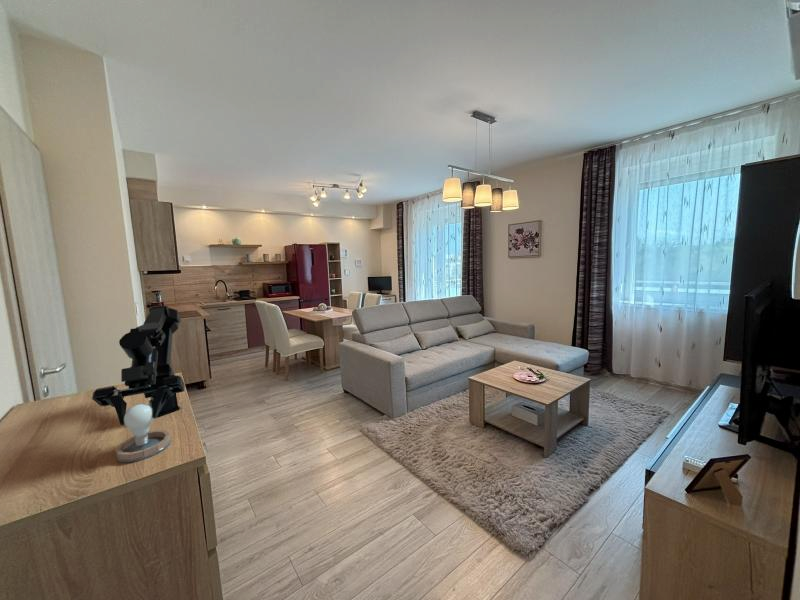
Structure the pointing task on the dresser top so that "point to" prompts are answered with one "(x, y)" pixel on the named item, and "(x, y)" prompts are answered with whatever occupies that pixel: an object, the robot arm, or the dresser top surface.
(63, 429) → the dresser top surface
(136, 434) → the lightbulb
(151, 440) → the round dish
